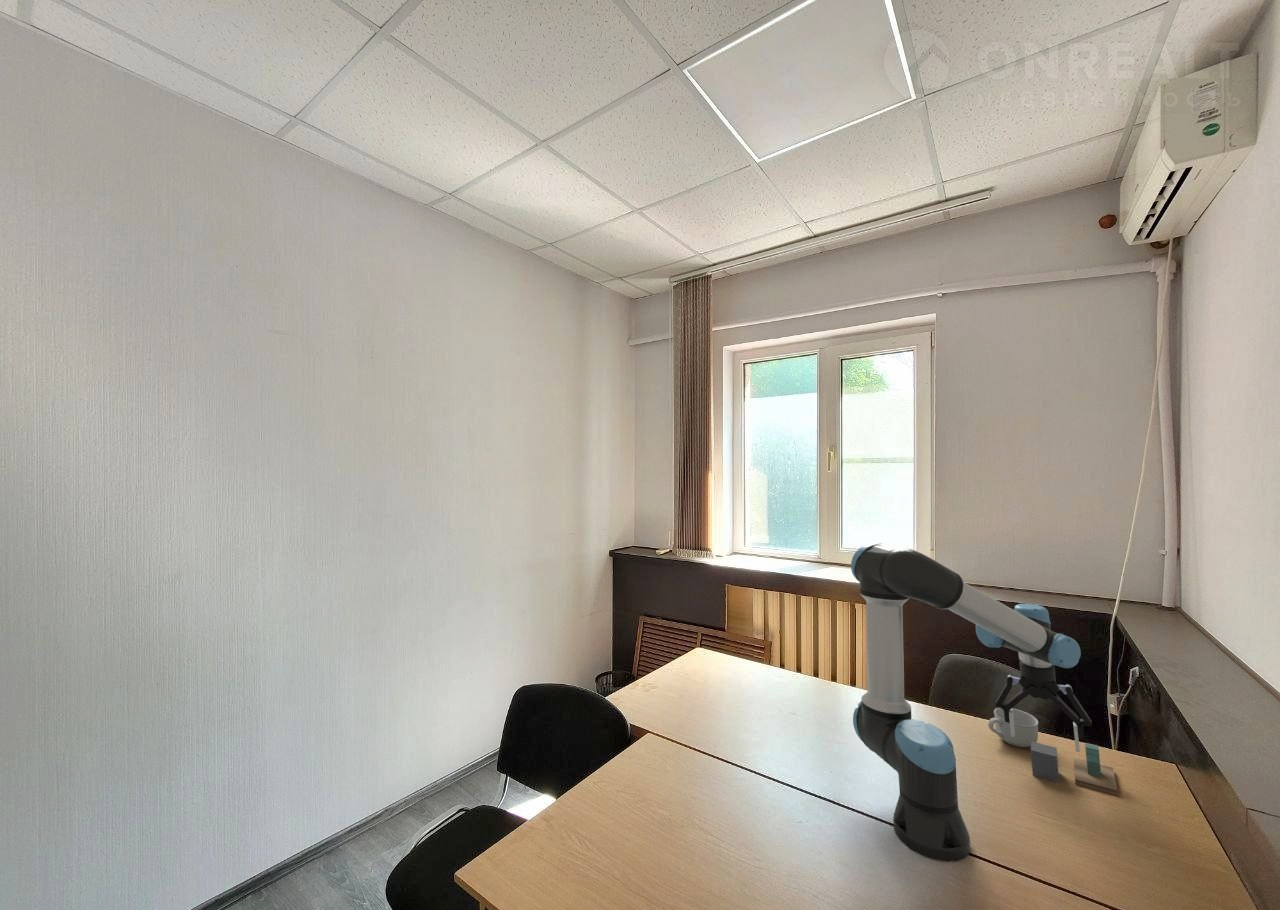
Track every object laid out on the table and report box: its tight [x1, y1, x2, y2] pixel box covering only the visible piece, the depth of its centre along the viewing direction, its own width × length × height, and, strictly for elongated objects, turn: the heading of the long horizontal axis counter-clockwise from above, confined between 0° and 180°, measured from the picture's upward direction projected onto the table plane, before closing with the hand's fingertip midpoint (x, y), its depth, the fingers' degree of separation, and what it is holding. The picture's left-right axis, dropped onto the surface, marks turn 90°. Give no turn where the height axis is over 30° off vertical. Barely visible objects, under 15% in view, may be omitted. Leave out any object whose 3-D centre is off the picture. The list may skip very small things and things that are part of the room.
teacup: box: [987, 707, 1039, 748], centre depth 148 cm, size 14×11×8 cm
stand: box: [1072, 742, 1119, 796], centre depth 130 cm, size 12×8×8 cm, turn 140°
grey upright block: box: [1030, 742, 1060, 783], centre depth 132 cm, size 5×5×7 cm
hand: (1044, 742), depth 133 cm, fingers open, 13 cm apart
